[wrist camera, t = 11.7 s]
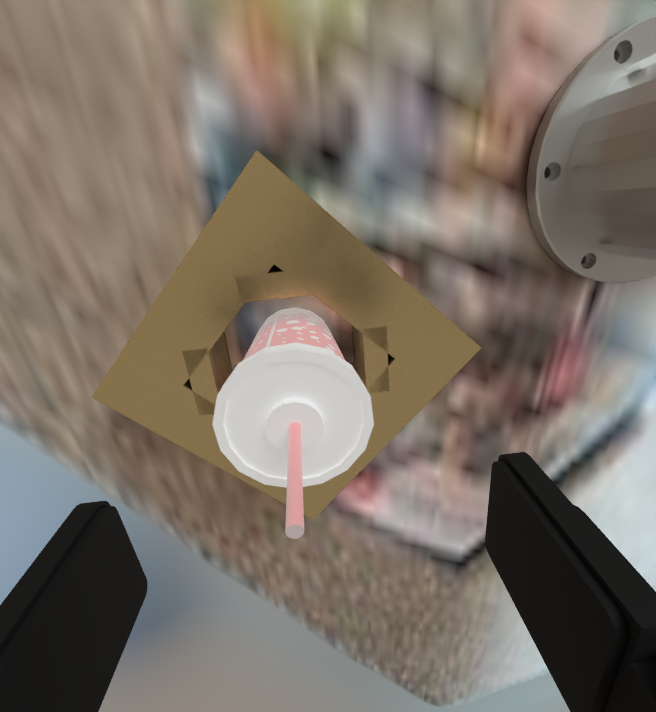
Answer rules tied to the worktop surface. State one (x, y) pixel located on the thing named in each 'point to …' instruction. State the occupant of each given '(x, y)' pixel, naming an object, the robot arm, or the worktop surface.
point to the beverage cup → (293, 410)
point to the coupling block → (272, 281)
